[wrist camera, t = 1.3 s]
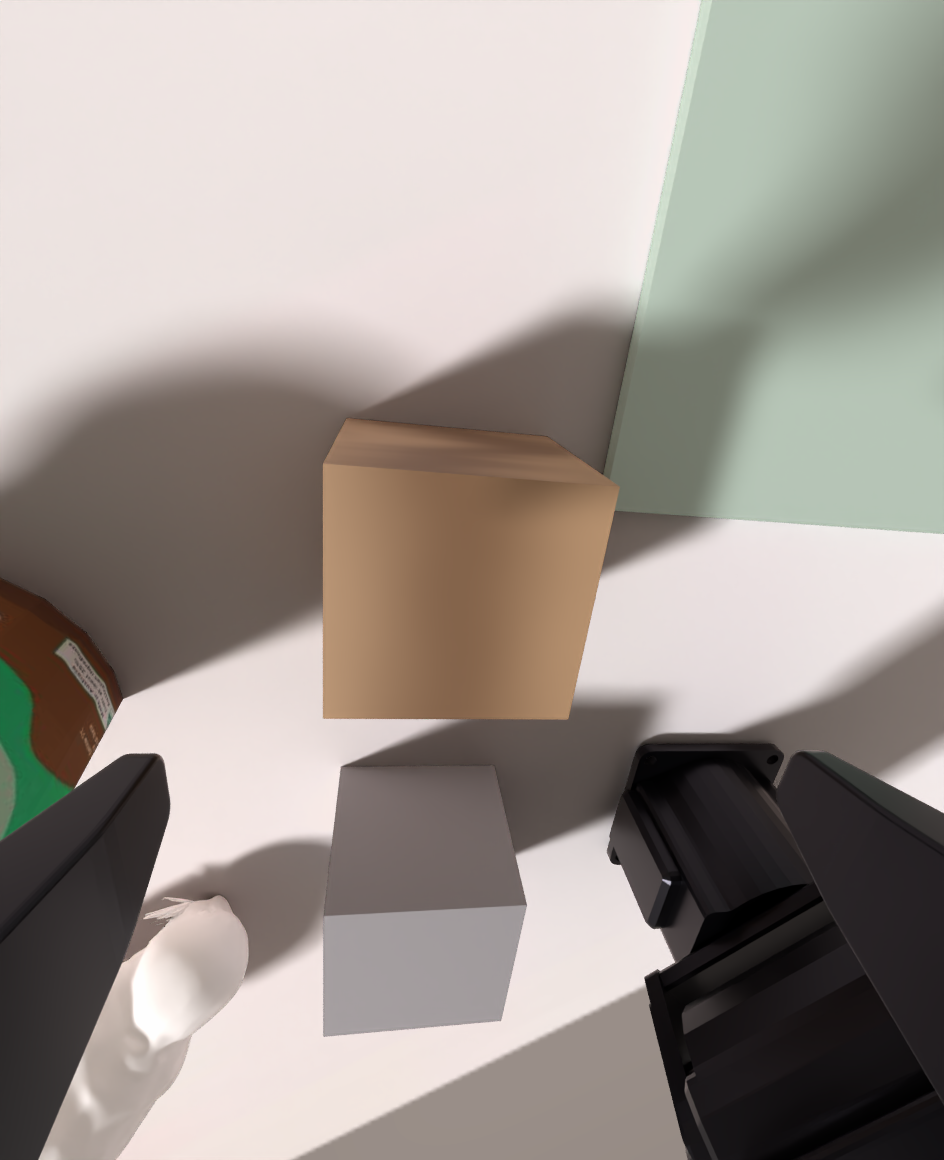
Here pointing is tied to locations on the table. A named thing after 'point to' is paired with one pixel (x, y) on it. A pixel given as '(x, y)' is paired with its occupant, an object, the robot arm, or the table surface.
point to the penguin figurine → (149, 1027)
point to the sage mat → (796, 276)
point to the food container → (46, 704)
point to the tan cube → (457, 572)
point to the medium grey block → (419, 900)
